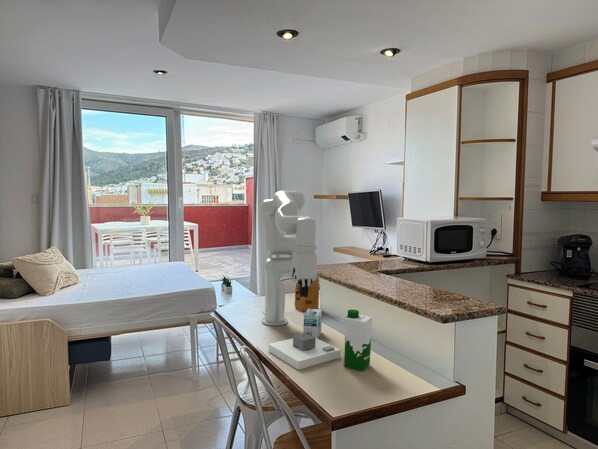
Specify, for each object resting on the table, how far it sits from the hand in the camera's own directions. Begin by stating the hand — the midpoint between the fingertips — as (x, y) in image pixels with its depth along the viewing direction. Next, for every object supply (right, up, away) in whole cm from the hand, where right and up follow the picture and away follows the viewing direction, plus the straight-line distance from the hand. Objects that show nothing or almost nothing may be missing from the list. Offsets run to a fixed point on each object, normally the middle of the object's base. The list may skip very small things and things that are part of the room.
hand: (303, 296), depth 153 cm
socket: (0, -23, -1) cm, 23 cm away
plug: (0, -22, -1) cm, 22 cm away
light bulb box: (+4, -22, +21) cm, 30 cm away
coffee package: (+2, -19, +64) cm, 67 cm away
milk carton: (+19, -24, -10) cm, 32 cm away
